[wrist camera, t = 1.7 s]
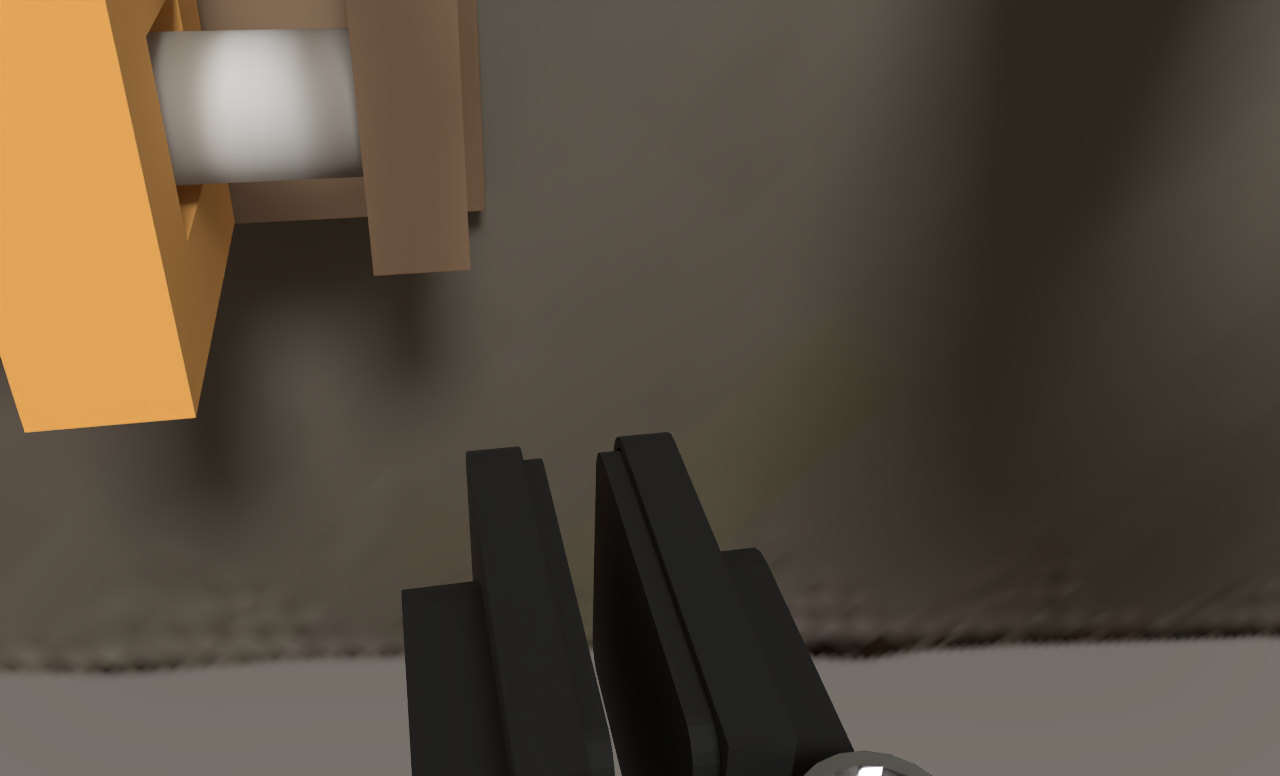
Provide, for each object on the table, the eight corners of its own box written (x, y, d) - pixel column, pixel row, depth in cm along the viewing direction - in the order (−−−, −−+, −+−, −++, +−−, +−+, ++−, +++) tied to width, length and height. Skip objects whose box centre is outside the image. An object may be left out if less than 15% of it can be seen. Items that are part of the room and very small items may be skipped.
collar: (167, -167, 24) (86, -89, 16) (234, 221, 29) (195, 417, 21) (13, -170, 23) (-143, -88, 16) (109, 228, 28) (25, 432, 21)
